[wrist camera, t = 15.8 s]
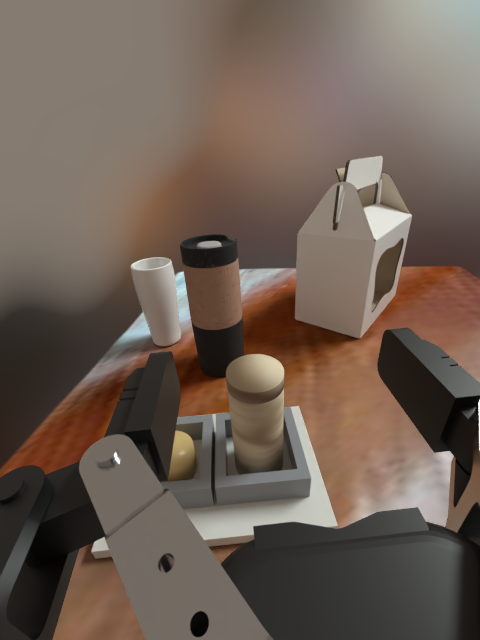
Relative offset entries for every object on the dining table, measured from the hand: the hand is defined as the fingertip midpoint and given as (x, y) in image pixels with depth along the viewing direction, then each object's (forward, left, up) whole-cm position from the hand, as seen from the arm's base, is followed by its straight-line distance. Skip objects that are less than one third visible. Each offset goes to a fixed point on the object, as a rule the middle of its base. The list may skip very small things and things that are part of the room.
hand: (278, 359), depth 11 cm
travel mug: (-8, -29, -23) cm, 38 cm away
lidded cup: (-4, -10, -21) cm, 24 cm away
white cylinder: (-2, -41, -23) cm, 47 cm away
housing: (0, -12, -23) cm, 26 cm away
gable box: (-39, -33, -23) cm, 56 cm away
